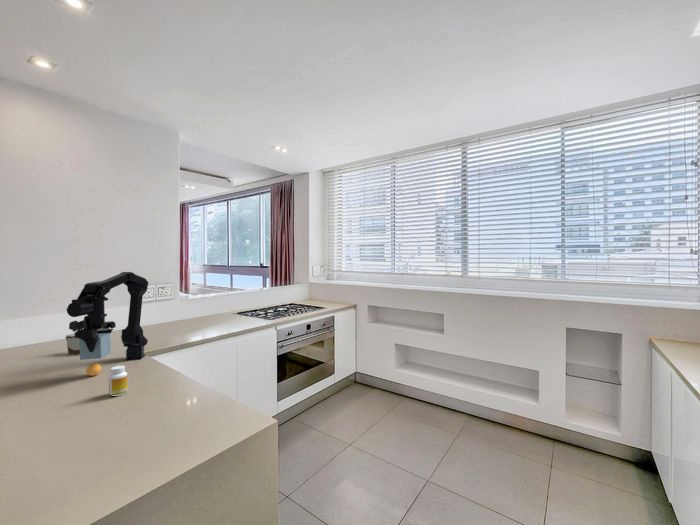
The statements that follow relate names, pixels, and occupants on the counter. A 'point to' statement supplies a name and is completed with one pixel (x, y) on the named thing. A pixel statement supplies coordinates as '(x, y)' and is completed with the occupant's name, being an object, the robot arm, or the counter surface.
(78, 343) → the food container
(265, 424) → the counter surface
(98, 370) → the ball
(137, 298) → the robot arm
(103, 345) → the pale blue-grey cube
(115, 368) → the supplement bottle
